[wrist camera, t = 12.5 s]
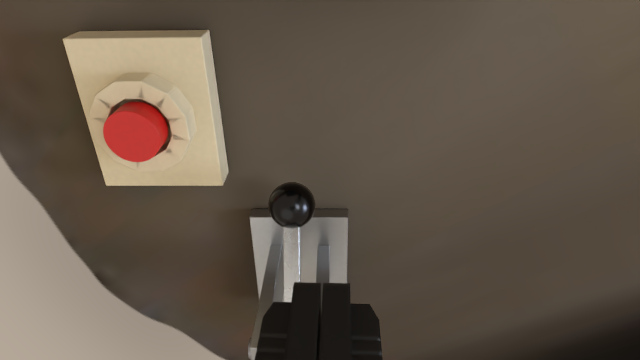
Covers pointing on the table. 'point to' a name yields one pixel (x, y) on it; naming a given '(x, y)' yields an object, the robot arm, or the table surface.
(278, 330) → the robot arm
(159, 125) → the button
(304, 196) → the lever handle
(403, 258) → the table surface
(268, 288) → the base
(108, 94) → the button block
